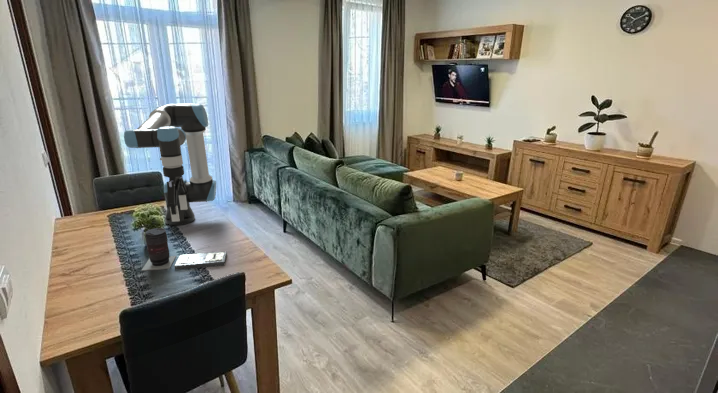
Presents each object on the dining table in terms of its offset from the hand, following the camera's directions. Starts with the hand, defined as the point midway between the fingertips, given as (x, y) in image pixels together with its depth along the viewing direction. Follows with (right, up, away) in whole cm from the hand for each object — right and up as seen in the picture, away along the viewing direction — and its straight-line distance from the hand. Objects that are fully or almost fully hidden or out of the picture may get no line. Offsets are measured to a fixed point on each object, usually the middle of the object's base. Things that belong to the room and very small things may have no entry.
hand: (180, 215), depth 156 cm
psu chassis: (+6, -21, +9) cm, 24 cm away
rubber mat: (-12, -22, +7) cm, 26 cm away
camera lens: (-12, -21, +7) cm, 25 cm away
